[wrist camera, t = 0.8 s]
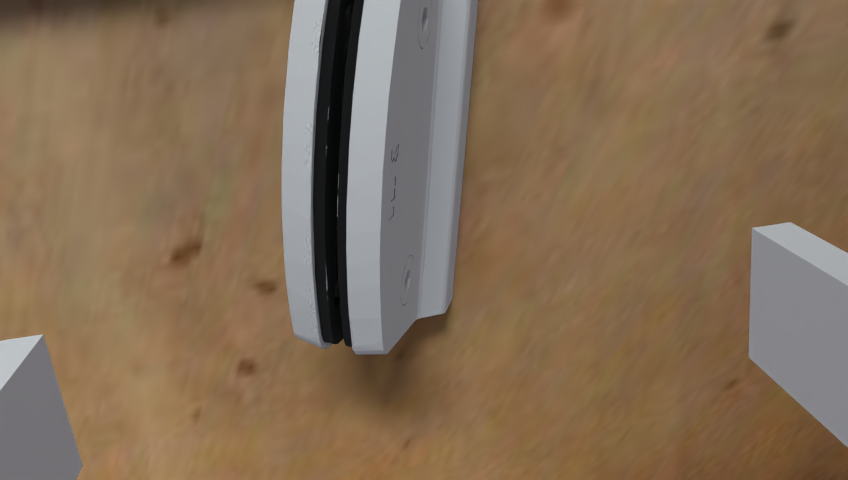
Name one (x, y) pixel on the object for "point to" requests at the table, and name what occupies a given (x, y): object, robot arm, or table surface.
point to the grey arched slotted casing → (373, 165)
